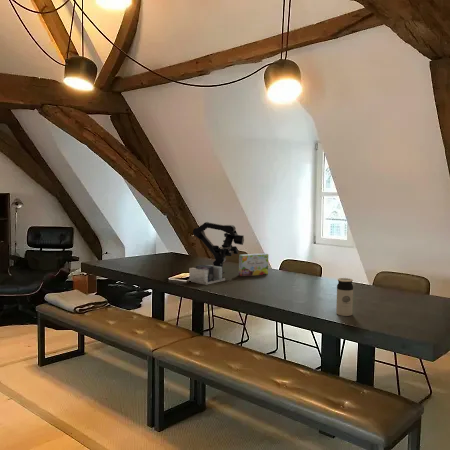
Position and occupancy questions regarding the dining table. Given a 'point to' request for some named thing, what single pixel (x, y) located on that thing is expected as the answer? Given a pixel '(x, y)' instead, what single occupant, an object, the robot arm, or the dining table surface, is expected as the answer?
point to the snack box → (253, 264)
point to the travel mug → (344, 297)
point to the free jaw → (217, 272)
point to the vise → (201, 276)
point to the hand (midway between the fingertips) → (221, 259)
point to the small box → (210, 271)
